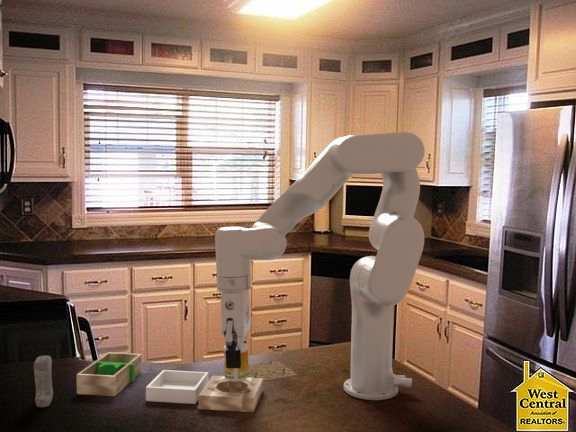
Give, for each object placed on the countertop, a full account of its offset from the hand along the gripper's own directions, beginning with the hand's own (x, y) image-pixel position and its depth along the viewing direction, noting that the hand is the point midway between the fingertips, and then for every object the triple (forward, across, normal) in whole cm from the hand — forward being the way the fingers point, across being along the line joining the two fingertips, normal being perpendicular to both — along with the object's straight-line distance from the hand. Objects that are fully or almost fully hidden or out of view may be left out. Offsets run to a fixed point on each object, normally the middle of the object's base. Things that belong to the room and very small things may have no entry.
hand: (236, 362), depth 124 cm
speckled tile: (+9, +19, -4) cm, 21 cm away
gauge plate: (+8, 0, +1) cm, 9 cm away
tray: (+8, +2, +14) cm, 16 cm away
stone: (+7, -8, +41) cm, 43 cm away
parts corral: (+7, +6, +32) cm, 34 cm away
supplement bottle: (+4, 0, 0) cm, 4 cm away
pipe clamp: (+7, +6, +32) cm, 34 cm away
